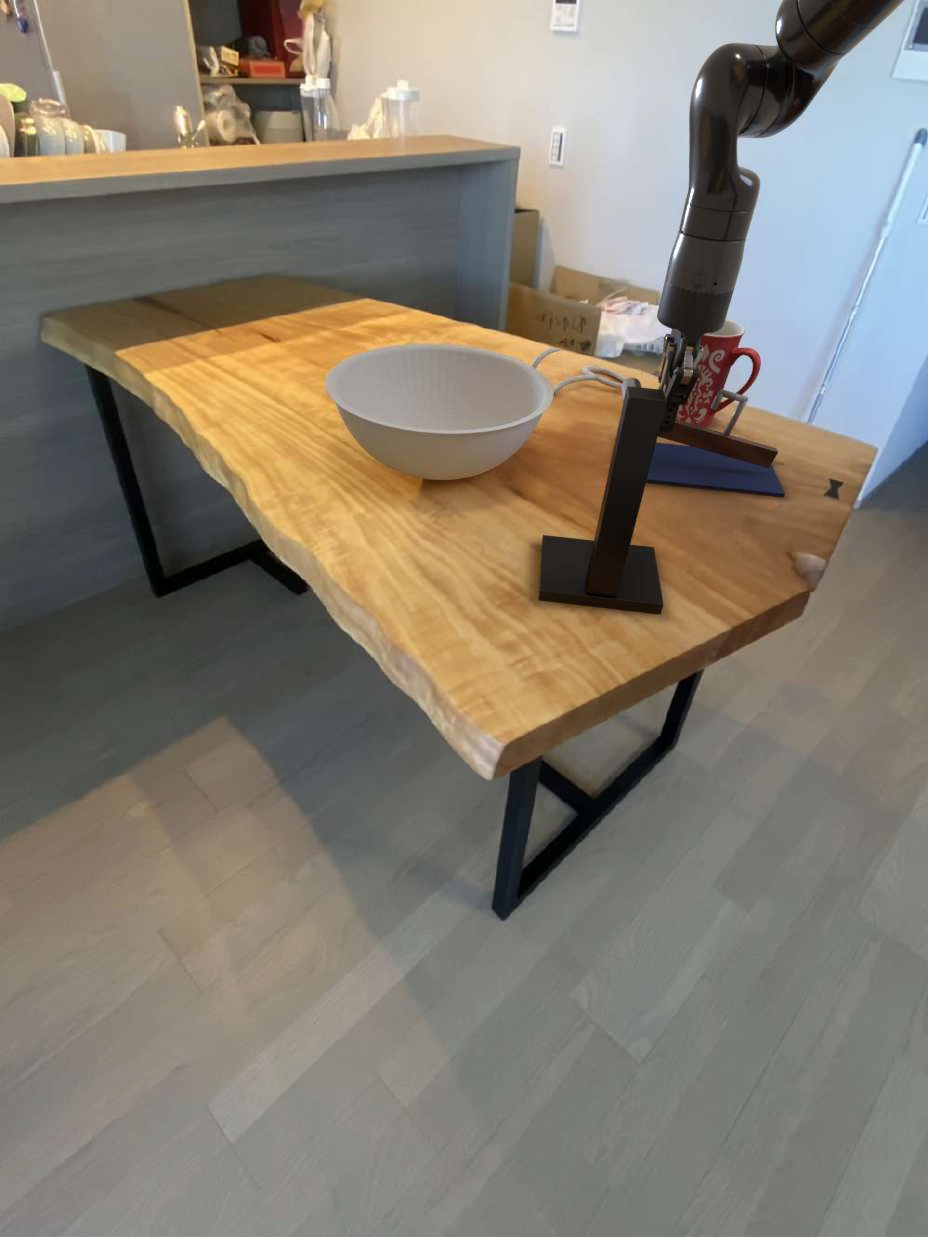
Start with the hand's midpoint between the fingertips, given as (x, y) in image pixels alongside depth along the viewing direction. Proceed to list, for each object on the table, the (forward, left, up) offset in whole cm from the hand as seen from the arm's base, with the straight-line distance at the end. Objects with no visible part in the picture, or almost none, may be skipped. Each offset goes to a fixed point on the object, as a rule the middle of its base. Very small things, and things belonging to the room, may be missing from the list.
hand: (662, 426), depth 87 cm
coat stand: (+8, +26, -6) cm, 28 cm away
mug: (-8, -16, -6) cm, 19 cm away
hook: (+10, -24, -6) cm, 27 cm away
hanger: (-6, 0, -2) cm, 7 cm away
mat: (-6, -1, -6) cm, 8 cm away
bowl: (+28, +4, -6) cm, 29 cm away
